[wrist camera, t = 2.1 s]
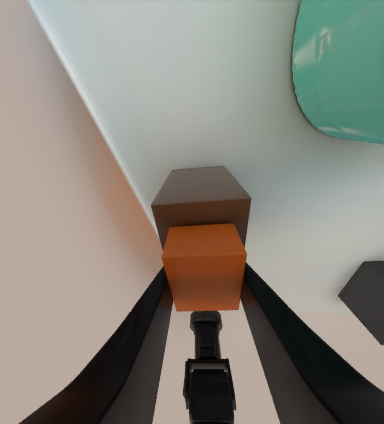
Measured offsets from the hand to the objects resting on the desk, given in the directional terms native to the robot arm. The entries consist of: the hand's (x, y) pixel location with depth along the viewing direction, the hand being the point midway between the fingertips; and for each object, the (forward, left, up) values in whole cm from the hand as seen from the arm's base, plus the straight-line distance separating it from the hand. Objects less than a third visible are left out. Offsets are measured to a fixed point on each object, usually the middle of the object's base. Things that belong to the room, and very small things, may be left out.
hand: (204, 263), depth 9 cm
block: (0, 0, -1) cm, 1 cm away
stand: (0, 0, -10) cm, 10 cm away
